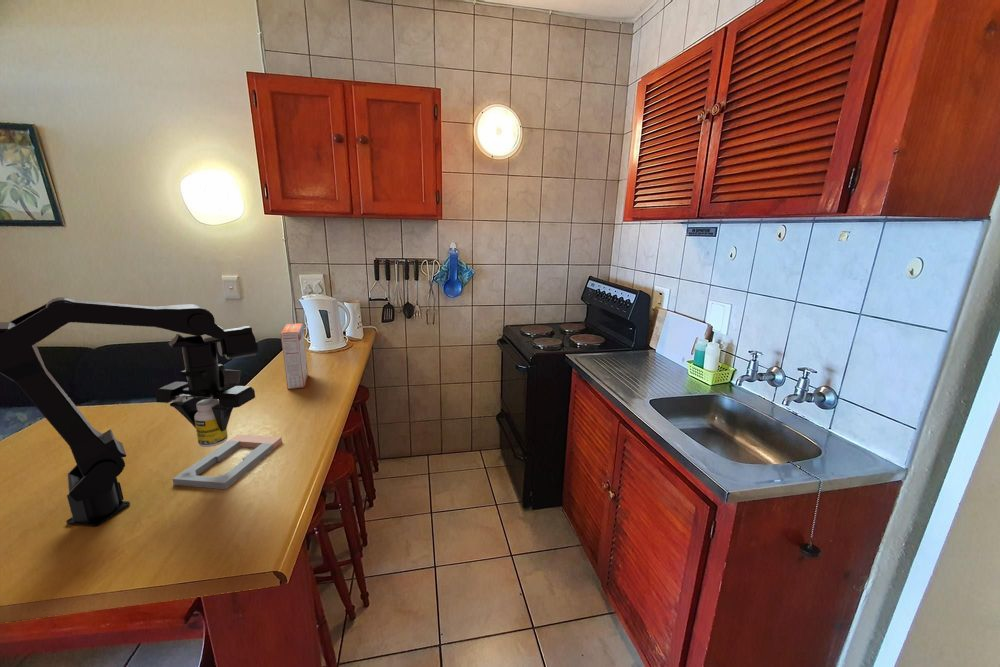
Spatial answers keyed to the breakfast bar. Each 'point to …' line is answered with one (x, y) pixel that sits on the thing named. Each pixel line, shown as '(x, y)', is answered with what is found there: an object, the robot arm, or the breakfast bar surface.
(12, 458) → the breakfast bar surface
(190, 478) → the keyhole board
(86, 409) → the breakfast bar surface
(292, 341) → the cracker box
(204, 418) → the supplement bottle
